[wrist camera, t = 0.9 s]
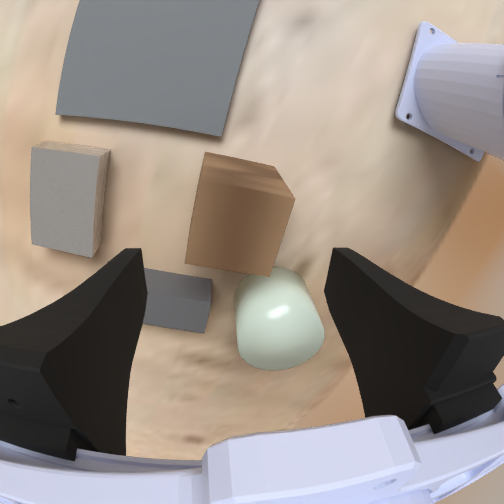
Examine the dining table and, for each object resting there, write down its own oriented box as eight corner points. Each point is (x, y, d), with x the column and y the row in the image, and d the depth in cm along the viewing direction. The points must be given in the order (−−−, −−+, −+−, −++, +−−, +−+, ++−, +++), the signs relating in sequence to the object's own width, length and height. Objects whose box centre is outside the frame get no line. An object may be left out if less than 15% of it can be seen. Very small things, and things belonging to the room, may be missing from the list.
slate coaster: (266, -23, 13) (267, -26, 13) (221, 135, 19) (221, 136, 18) (97, -39, 11) (94, -42, 11) (59, 113, 16) (55, 114, 16)
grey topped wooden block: (48, 139, 17) (31, 147, 15) (111, 148, 18) (99, 156, 16) (45, 229, 20) (31, 244, 18) (102, 241, 22) (92, 257, 20)
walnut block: (274, 166, 20) (295, 198, 15) (256, 227, 22) (269, 276, 17) (205, 151, 19) (200, 178, 14) (191, 216, 21) (184, 263, 16)
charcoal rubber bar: (211, 277, 24) (211, 302, 21) (204, 307, 25) (204, 333, 23) (108, 259, 22) (97, 282, 20) (108, 290, 24) (99, 315, 21)
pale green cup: (318, 273, 25) (337, 314, 20) (293, 328, 27) (306, 372, 23) (243, 260, 23) (250, 304, 19) (226, 321, 26) (229, 367, 22)
